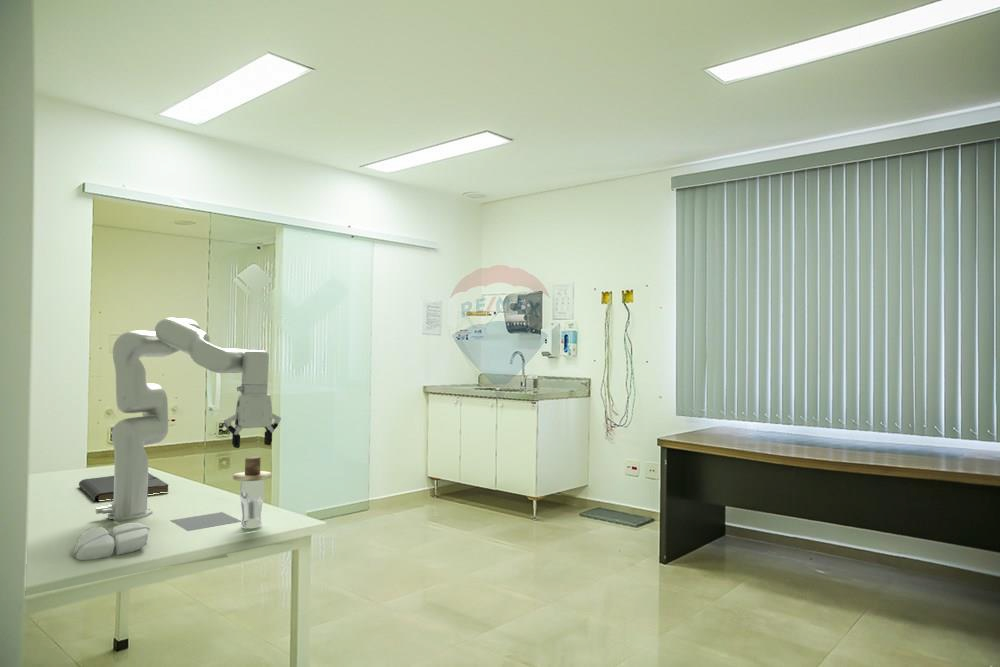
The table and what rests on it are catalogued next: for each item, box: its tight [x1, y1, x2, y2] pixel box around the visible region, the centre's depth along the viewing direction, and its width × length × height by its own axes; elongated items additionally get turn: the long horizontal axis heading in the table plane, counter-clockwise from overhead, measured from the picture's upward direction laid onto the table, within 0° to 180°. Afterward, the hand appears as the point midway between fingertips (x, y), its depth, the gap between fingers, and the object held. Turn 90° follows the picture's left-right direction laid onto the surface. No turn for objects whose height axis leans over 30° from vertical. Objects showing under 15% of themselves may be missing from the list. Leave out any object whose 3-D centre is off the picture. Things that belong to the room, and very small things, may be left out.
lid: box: [232, 456, 272, 482], centre depth 195 cm, size 11×11×6 cm
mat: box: [170, 511, 242, 532], centre depth 199 cm, size 16×16×1 cm
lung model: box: [72, 522, 150, 561], centre depth 175 cm, size 7×17×25 cm
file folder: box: [78, 472, 169, 502], centre depth 244 cm, size 33×4×24 cm
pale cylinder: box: [239, 480, 265, 529], centre depth 195 cm, size 7×7×15 cm
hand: (252, 446), depth 195 cm, fingers open, 9 cm apart
